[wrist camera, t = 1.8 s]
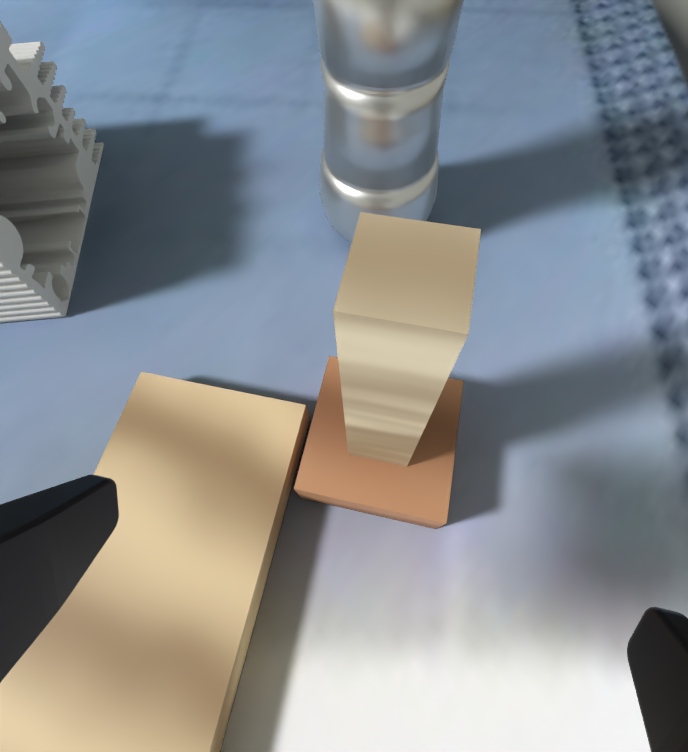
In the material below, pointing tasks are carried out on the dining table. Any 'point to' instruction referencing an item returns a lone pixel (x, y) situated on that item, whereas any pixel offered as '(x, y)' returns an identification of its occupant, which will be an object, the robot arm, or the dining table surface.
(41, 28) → the dining table surface
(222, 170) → the dining table surface
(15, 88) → the aluminum extrusion profile
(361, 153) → the plastic bottle
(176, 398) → the board
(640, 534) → the dining table surface
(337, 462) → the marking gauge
